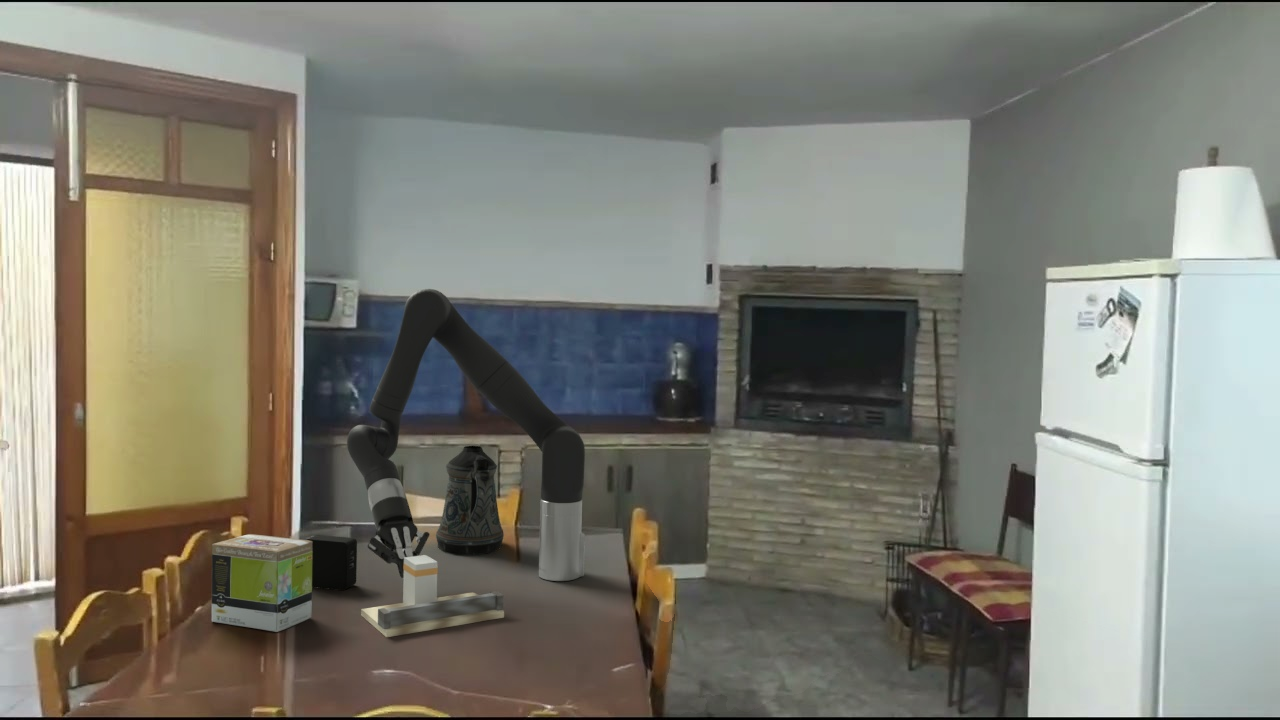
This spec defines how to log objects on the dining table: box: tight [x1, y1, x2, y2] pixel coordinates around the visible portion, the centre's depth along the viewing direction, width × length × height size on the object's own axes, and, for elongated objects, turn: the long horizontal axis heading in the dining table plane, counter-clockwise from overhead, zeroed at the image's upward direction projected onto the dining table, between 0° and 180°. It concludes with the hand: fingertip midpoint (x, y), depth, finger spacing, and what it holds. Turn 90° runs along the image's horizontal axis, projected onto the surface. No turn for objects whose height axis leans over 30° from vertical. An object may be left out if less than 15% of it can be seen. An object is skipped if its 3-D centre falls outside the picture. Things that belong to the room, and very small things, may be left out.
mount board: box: [360, 590, 505, 638], centre depth 178 cm, size 23×14×4 cm, turn 125°
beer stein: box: [435, 445, 505, 556], centre depth 231 cm, size 16×19×25 cm
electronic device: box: [305, 534, 358, 591], centre depth 196 cm, size 4×10×10 cm, turn 79°
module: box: [402, 554, 439, 606], centre depth 180 cm, size 4×6×9 cm
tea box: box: [211, 533, 313, 633], centre depth 173 cm, size 15×10×15 cm, turn 71°
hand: (409, 577), depth 186 cm, fingers closed
